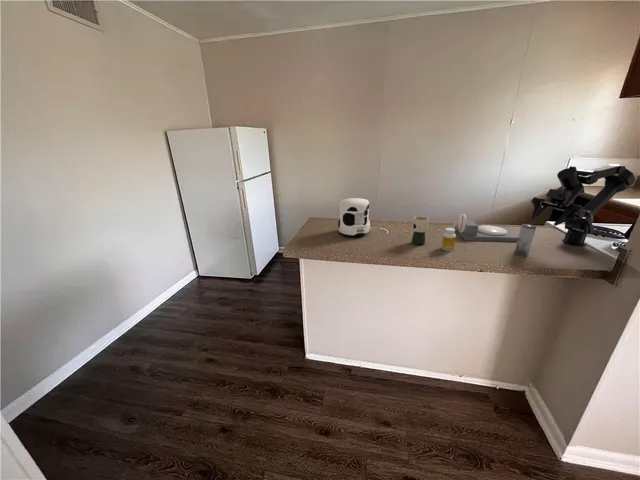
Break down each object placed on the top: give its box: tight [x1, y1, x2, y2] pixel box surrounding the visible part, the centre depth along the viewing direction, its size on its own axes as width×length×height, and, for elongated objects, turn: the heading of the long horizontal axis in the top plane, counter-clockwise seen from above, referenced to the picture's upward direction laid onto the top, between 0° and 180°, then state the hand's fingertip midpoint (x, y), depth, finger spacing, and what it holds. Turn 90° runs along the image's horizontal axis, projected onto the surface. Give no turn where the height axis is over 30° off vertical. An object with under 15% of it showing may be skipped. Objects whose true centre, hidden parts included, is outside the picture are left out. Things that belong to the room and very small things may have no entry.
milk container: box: [337, 197, 371, 237], centre depth 146 cm, size 17×17×18 cm
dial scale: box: [454, 213, 519, 243], centre depth 140 cm, size 24×18×11 cm
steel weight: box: [514, 223, 537, 257], centre depth 117 cm, size 5×5×13 cm
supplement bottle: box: [440, 227, 457, 252], centre depth 124 cm, size 5×5×10 cm
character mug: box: [411, 215, 430, 245], centre depth 131 cm, size 11×7×13 cm, turn 169°
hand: (542, 222), depth 116 cm, fingers open, 9 cm apart
